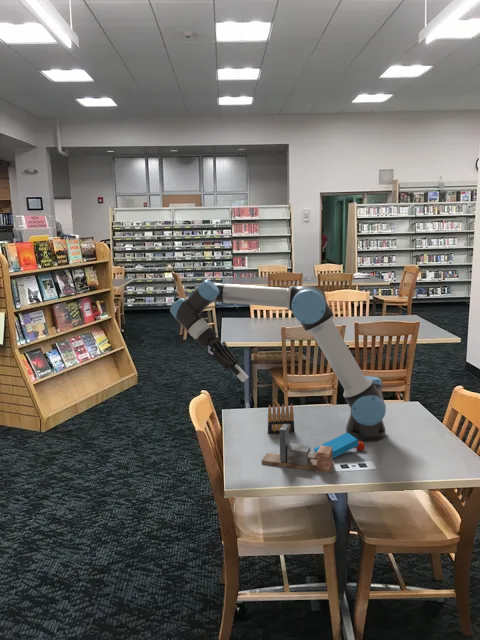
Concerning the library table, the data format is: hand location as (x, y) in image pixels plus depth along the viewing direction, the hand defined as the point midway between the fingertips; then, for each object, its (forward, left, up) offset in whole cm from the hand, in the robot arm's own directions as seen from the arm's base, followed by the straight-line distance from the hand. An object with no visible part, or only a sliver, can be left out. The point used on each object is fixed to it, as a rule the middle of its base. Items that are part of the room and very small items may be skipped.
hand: (245, 379), depth 180 cm
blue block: (-34, +7, -27) cm, 44 cm away
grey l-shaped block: (-19, +16, -24) cm, 35 cm away
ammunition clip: (-13, -12, -26) cm, 32 cm away
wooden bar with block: (-17, +16, -26) cm, 35 cm away
